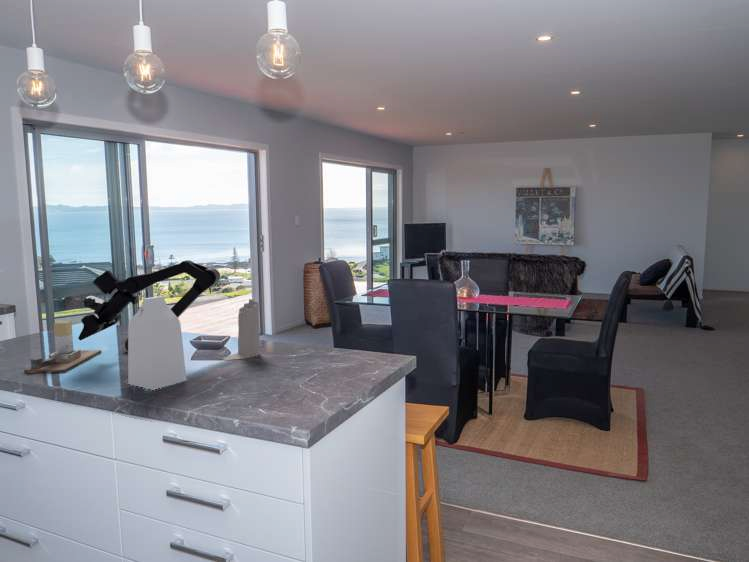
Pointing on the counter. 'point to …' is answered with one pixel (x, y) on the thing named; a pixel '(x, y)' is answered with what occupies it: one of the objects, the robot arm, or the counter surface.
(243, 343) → the grey stepped bookend
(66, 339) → the block
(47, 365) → the shaft board
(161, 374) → the milk
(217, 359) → the counter surface
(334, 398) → the counter surface
